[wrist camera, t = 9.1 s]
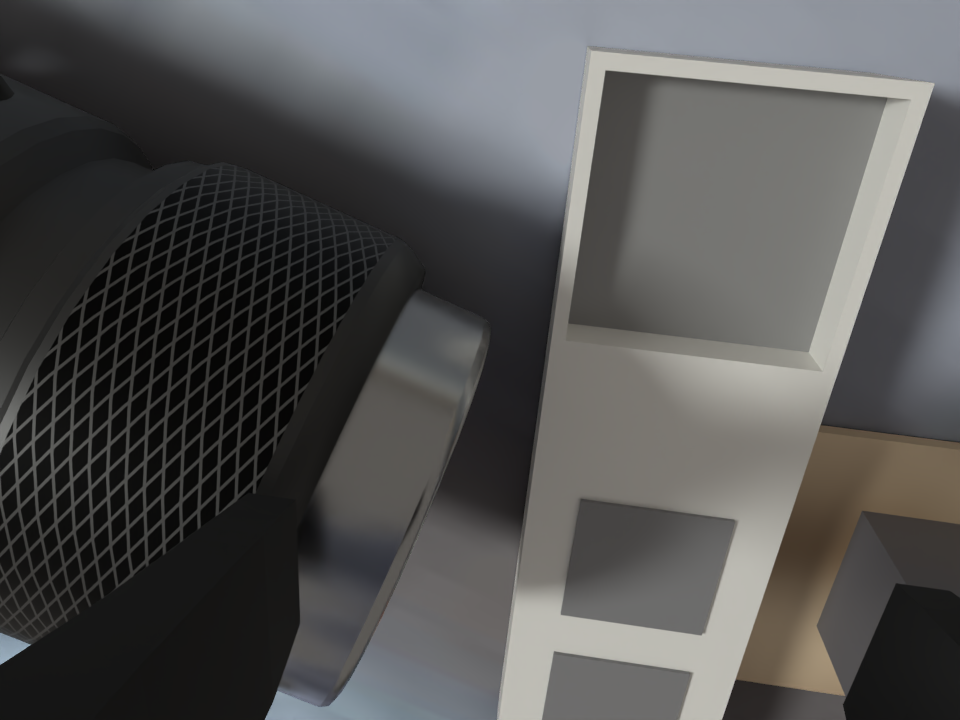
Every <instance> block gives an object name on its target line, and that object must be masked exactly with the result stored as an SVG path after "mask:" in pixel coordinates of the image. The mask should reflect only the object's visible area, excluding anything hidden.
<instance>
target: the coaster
mask: <svg viewBox="0 0 960 720" xmlns="http://www.w3.org/2000/svg"><path fill="white" fill-rule="evenodd" d="M862 511H869V512H876V513H883V514H890V515H898V516H905V517H912V518H919V519H926V520H933V521H941V522H948V523H955V524H960V443H958V442H950V441H942V440H934V439H926V438H918V437H910V436H903V435H895V434H887V433H879V432H871V431H863V430H855V429H847V428H839V427H831V426H823V425H820V428H819V431H818V434H817V437H816V440H815V443H814V446H813V449H812V452H811V455H810V458H809V461H808V464H807V467H806V470H805V473H804V476H803V479H802V482H801V485H800V488H799V491H798V494H797V497H796V500H795V503H794V506H793V509H792V512H791V515H790V518H789V521H788V524H787V527H786V530H785V533H784V536H783V539H782V542H781V545H780V548H779V551H778V554H777V557H776V560H775V563H774V566H773V569H772V572H771V575H770V578H769V581H768V584H767V587H766V590H765V593H764V596H763V599H762V602H761V605H760V608H759V611H758V614H757V617H756V620H755V623H754V625H753V628H752V631H751V634H750V637H749V640H748V643H747V646H746V649H745V652H744V655H743V658H742V661H741V664H740V667H739V670H738V673H737V676H736V680H742V681H749V682H756V683H762V684H769V685H776V686H782V687H789V688H796V689H802V690H809V691H816V692H822V693H829V694H835V695H842V696H845V694H844V692H843V689H842V687H841V684H840V682H839V680H838V677H837V675H836V672H835V670H834V667H833V665H832V662H831V660H830V658H829V655H828V653H827V650H826V648H825V645H824V643H823V641H822V638H821V636H820V633H819V631H818V628H817V623H818V621H819V618H820V616H821V613H822V611H823V608H824V606H825V603H826V601H827V598H828V596H829V593H830V590H831V588H832V585H833V583H834V580H835V578H836V575H837V573H838V570H839V568H840V565H841V563H842V560H843V558H844V555H845V553H846V550H847V548H848V545H849V542H850V540H851V537H852V535H853V532H854V530H855V527H856V525H857V522H858V520H859V517H860V515H861V512H862Z"/></svg>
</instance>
